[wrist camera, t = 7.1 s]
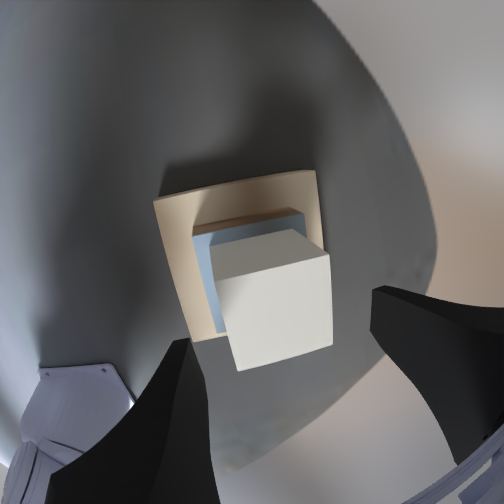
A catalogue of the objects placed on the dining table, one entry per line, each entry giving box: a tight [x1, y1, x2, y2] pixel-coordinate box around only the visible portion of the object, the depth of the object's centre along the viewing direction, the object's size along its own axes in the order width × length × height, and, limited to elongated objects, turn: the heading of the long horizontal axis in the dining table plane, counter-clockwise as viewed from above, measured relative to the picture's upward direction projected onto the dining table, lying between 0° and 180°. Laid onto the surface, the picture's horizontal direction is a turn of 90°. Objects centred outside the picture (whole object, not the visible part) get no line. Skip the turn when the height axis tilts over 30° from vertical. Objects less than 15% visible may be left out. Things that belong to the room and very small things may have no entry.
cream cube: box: [209, 229, 333, 371], centre depth 13 cm, size 4×4×4 cm
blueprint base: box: [153, 170, 323, 342], centre depth 17 cm, size 10×10×4 cm
